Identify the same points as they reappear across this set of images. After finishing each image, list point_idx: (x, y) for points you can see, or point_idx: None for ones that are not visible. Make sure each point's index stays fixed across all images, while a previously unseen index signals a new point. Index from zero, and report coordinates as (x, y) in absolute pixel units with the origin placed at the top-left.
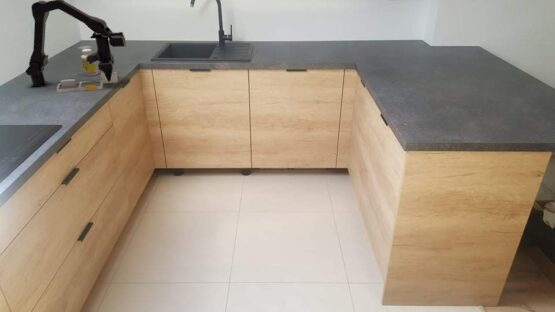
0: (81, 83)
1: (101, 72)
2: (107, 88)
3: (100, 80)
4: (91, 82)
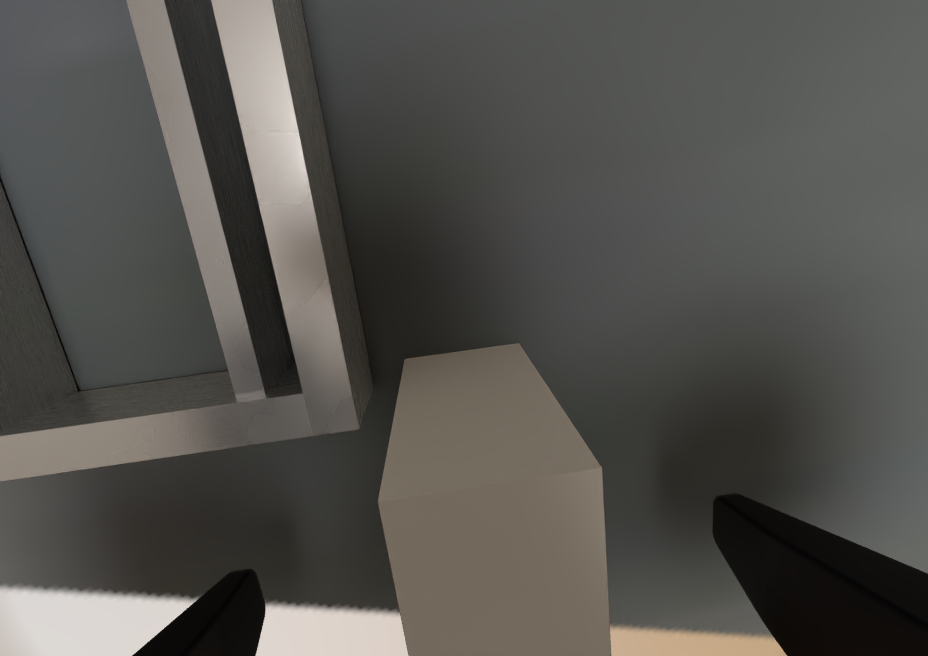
0: None
1: (598, 479)
2: (41, 520)
3: (312, 372)
4: (160, 122)
